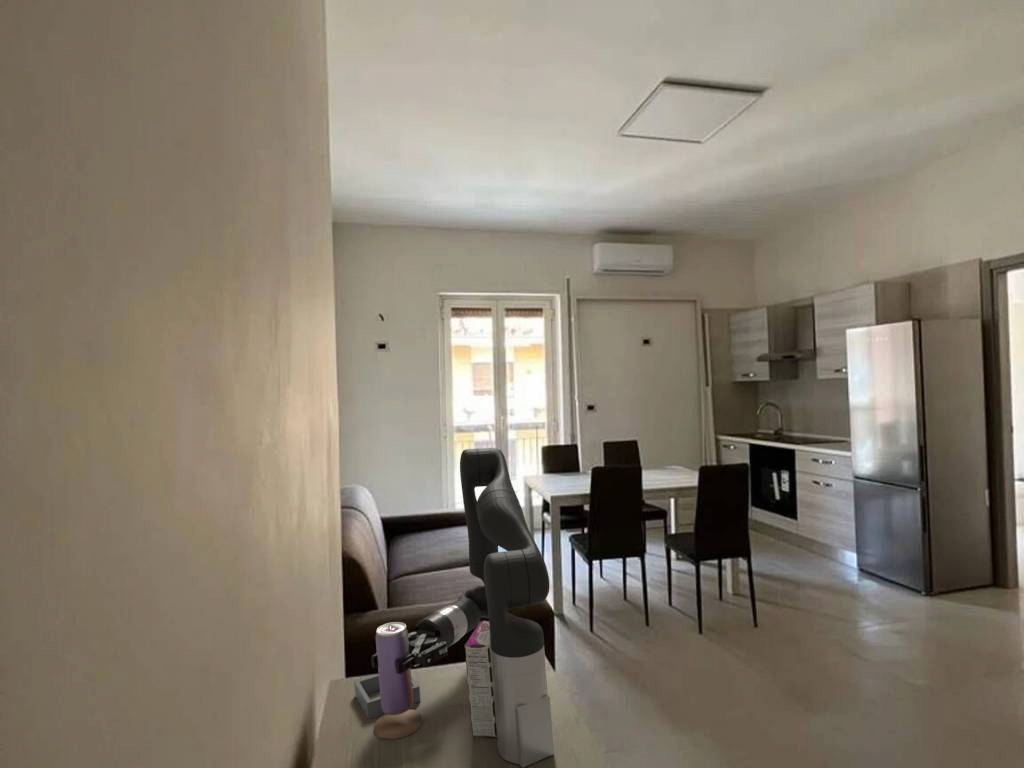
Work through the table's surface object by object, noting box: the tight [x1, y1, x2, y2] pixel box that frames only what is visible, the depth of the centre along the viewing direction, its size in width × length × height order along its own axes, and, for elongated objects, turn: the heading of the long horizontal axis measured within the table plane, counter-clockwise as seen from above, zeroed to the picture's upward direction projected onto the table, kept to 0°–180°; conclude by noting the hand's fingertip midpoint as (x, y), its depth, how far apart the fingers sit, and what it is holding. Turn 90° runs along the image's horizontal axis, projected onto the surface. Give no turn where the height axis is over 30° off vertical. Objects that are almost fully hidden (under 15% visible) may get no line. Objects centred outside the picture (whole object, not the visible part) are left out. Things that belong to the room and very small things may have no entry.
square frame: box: [354, 673, 421, 720], centre depth 116 cm, size 11×11×3 cm
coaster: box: [373, 708, 424, 740], centre depth 106 cm, size 9×9×1 cm
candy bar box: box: [464, 620, 497, 738], centre depth 105 cm, size 11×5×16 cm, turn 168°
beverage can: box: [375, 621, 413, 715], centre depth 106 cm, size 6×6×15 cm
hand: (385, 665), depth 104 cm, fingers closed on beverage can, 5 cm apart
